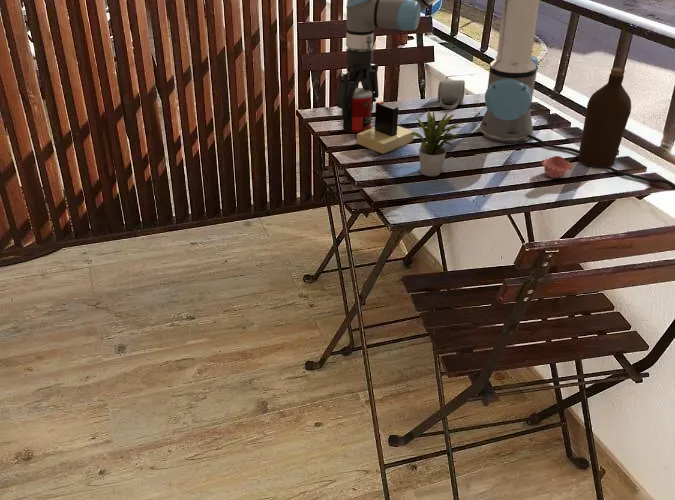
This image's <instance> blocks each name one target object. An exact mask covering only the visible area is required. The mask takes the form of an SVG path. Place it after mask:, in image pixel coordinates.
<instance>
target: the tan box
mask: <svg viewBox="0 0 675 500" xmlns="http://www.w3.org/2000/svg"><path fill="white" fill-rule="evenodd" d="M412 132H415V131H413V130H411V129H408V128H406V127H402V126H400V125H397V135H394V136H392V137H391V136H389V135H386V134H384V133H381V132H378V131H376V130H375V126H370V129H368V130H366V131H363V132H361V133H356V144H357V145H359V146H362V147H364V148H367V149H369V150H371V151H375V152H377V153H380V154H382V155H384V154H386V153H389V152H391V151H393V150H395V149H398V148H400V147H403V146H406V145H407V144H411V143H412V142H414V135H412V134H410V133H412Z"/></svg>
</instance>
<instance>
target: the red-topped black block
mask: <svg viewBox="0 0 675 500" xmlns="http://www.w3.org/2000/svg"><path fill="white" fill-rule="evenodd" d="M398 121H399V106H396V105H393V104H390V103H388V102H385V101H383V100H380V101H376V102H375V114H374V127H375V130H376V131H378V132H381V133H384V134H386V135H389V136H391V137H392V136H394V135H397V126H398V123H399V122H398Z"/></svg>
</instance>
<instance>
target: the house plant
mask: <svg viewBox="0 0 675 500" xmlns="http://www.w3.org/2000/svg"><path fill="white" fill-rule="evenodd" d="M448 113H449V111H447V112H446V113H445V114H444V116H443V117H442V118H441V120H439V122H438V124H437V121H436V117H435V115H436V114H435V112H434V110H432V114H431V111H430V110H429V109H428V110H427V113H426V126H425V124H424V123H423V121H421V120H420V118H417V117H415V120H417V122H418V124H419V125H420V126H419V125H417V127H418V128H419V129H420V131H421V132H422V133H423V135H424V137H423V135H421V133H419V132H416V131H414V132H412V133H410V134H412V135H414V136H415V137H417V138H418V139H420V140H421V142H420V143H421V144H420V146H419V148H418V155H419V157H418V158H419V165H420V173H421V174H422V175H423V176H426V177H437V176H440V174H441V173H442V169H443V166H444V162H445V158H446V155H447V152H448V151H447V149H446V147H444V146H445V145H447V146H449V147H450V148H453V144H452V142H450V141H453V140H457V136H458V137H459V134H453V133H450V131H451V130H455V129H463V128H464V126H461V125H462V124H463V125H464V122H457V123H454V124H451V125H450V126H448V124H449V123H450V120H451V119H452V118H453V117H454V115H455V114H451V115H449V116H448ZM447 116H448V117H447ZM414 136H413V137H414Z"/></svg>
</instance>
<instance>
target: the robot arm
mask: <svg viewBox="0 0 675 500" xmlns="http://www.w3.org/2000/svg"><path fill="white" fill-rule="evenodd" d="M435 2H437V0H346V5H345V6H346V31H345V32H346V34H345V46H346V48H345V61H346V63H347V68H346V71H344V72H342V71H341V72H339V73H338V79H339V84H338V90H337V91H338V92H337V101H336V107H337V108H338V109H341V113H342V114H341V119H342V130H345V131H347V132H349V131H352V109H350V107H351V103H352V100H353V96H354V93H355V90H356V88H358V86H359V84H360V83H361V88H363V89H365V90H368V91H369V90H370V91H371V92H372V108H371V118H372V115H373V113H372V112H373V110H374V103H377V99H378V98H379V96H380V95H379V80H378V70H379V65H377V64H375V63H373V61H374V49H373V47H374V38H375V37H374V34H375V28H377V29H378V28H379V29H380V28H381V29H388V30H389V29H390V30H399V31H402V32H403V31H415V30H417V29H418V27H419V24H420V21H421V13H422V12H423V11H424V10H425V9H428V7H430V6H431V5H432V4H433V3H435ZM539 4H540V0H502V6H501V7H502V8H501V16H500V27H499V35H498V43H497V44H498V45H497V52H496V57H495V59H493V60H492V61H491V62H490V64H489V71H488V81H487V89H485V93H484V103H485V107H486V110H485V114H484V115H483V117H482V119H481V121H480V125H479V130H478V131H479V133H480V135H481V136H483V137H484V138H486V139H488V140H491V141H494V142H499V143H505V144H506V143H509V144H517V143H522V142H527V141H529V140H530V139H531V140H533V141H535V142H538V143H540V144H541V145H543V146H545V147H548V148H551V149H556V150H560V151H561V150H563V151H569V152H572V153H575V154H579V149H577V148H573V147H568V146H567V147H566V146H562V145H554V144H551V143H549V142H546V141H544V140H543V139H540V138H538V137H537V136H535V135H533V132H534V125H533V121H532V114H531V106H532V103H533V96H534V90H535V84H536V78H537V72H538V70H539V59H538V58H537V56H534V55H532V54H533V48H534V40H535V35H536V25H537V20H538V12H539V6H540V5H539ZM346 104H347V105H346ZM603 169H607V170H609V171H611V172H613V173H616V174H619V175H621V176H625V177H629V178H632V179H637V180H640V181H645V182H651V183H662V184H666V185H668V186H670V187H671V188H672V189H673V190H674V191H675V184H674V182H672V181H670V180H668V179H665V178H664V179H663V178H650V177H646V176H641V175H638V174H634V173H629V172H626V171H622V170H619V169H617V168H615V167H613V166H611V167H610V166H608V165H604V168H603Z"/></svg>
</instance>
